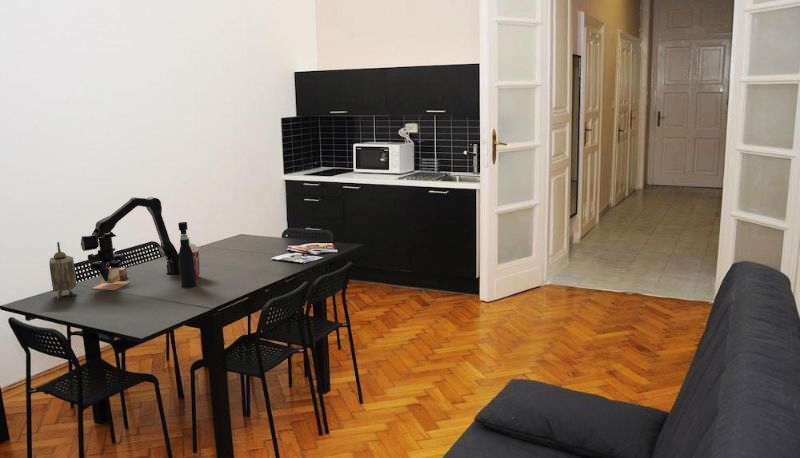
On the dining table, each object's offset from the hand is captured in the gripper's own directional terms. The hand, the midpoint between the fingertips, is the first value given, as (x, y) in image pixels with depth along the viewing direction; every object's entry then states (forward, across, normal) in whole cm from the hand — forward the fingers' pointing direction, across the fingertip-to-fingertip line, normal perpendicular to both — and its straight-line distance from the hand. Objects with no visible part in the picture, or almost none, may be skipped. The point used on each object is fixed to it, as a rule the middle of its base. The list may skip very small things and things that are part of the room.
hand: (110, 279), depth 327 cm
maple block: (+1, 0, 0) cm, 1 cm away
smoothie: (+4, -17, +33) cm, 37 cm away
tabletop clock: (+3, +17, -11) cm, 21 cm away
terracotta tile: (+3, 0, 0) cm, 3 cm away
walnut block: (+3, -13, -4) cm, 14 cm away
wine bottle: (+3, -3, +39) cm, 39 cm away
